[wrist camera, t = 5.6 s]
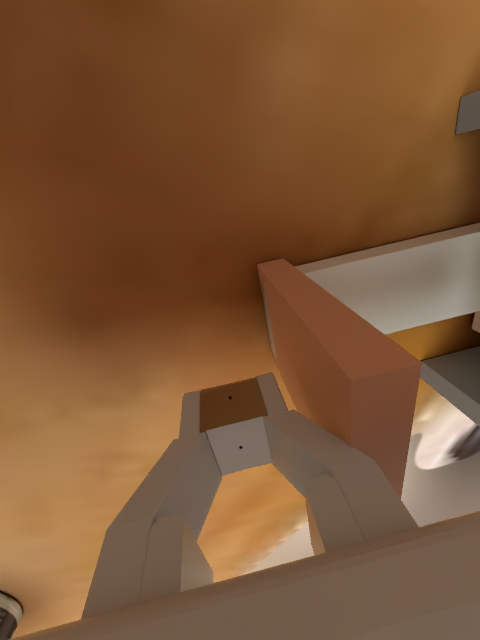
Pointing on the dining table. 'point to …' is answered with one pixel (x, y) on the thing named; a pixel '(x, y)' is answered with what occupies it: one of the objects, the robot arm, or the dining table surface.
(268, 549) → the dining table surface
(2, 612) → the coffee can
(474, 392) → the tunnel
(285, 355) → the white brown flanged block
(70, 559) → the dining table surface
